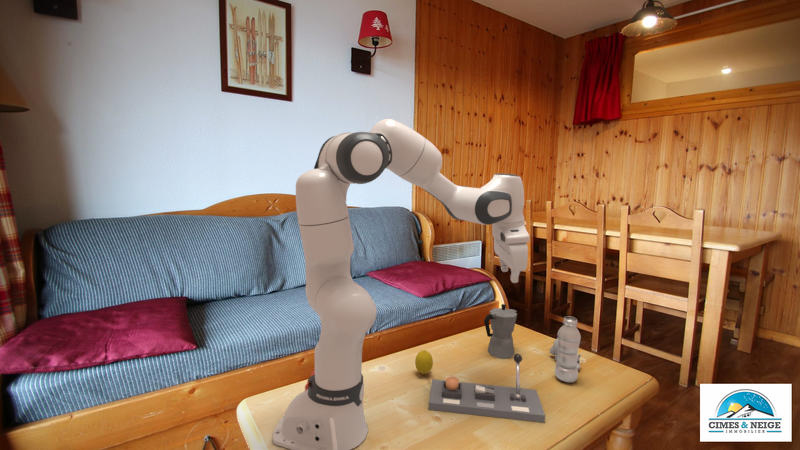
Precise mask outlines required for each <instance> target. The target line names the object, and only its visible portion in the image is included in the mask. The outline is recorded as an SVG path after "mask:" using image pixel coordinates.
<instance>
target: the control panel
mask: <svg viewBox="0 0 800 450" xmlns="http://www.w3.org/2000/svg"><path fill="white" fill-rule="evenodd" d="M476 385H478V386H481V387H485V388H489V389H493V390H494V394H485V393H476V392H475V387H476ZM515 394H516V386H515V387H514V386H503V385H495V384H494V385H493V384H484V383H476V382H475V383H472V382H464V381H463V382H462V381H459V386H458V389H457V390H449V389H447V388H446V379H445V380H444V379H435V378H434V379H433V378H432V379H431V385H430V391H429V397H428V398H429V399H428V410H429V411H438V412H447V413H454V414H455V413H457V414H465V415H472V416H473V415H475V416H482V417H483V416H484V417H491V418H499V419H509V420H517V421H526V422H532V423H533V422H536V423H544V424H545V423H546V414H545V411H544V409H543V408H544V407H543V405H542V403H541V400H540V396H539V394H538V391H537V389H533V388H523V387H520V396H521V399H516V398H515Z"/></svg>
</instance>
